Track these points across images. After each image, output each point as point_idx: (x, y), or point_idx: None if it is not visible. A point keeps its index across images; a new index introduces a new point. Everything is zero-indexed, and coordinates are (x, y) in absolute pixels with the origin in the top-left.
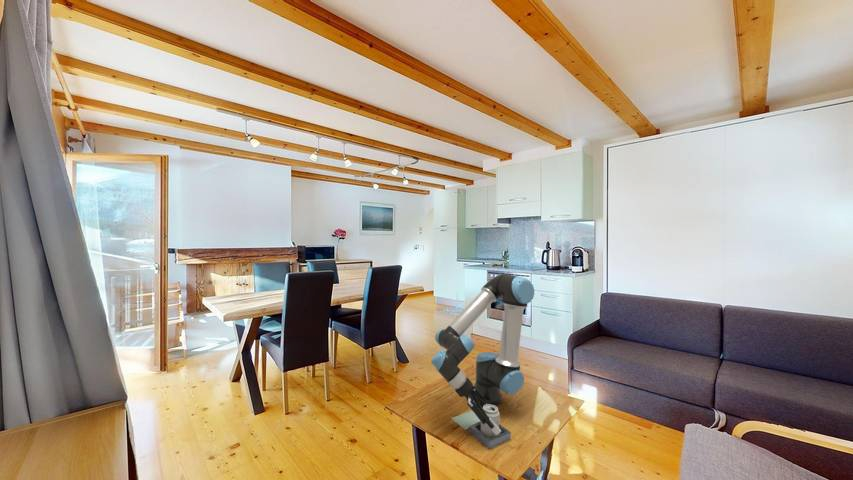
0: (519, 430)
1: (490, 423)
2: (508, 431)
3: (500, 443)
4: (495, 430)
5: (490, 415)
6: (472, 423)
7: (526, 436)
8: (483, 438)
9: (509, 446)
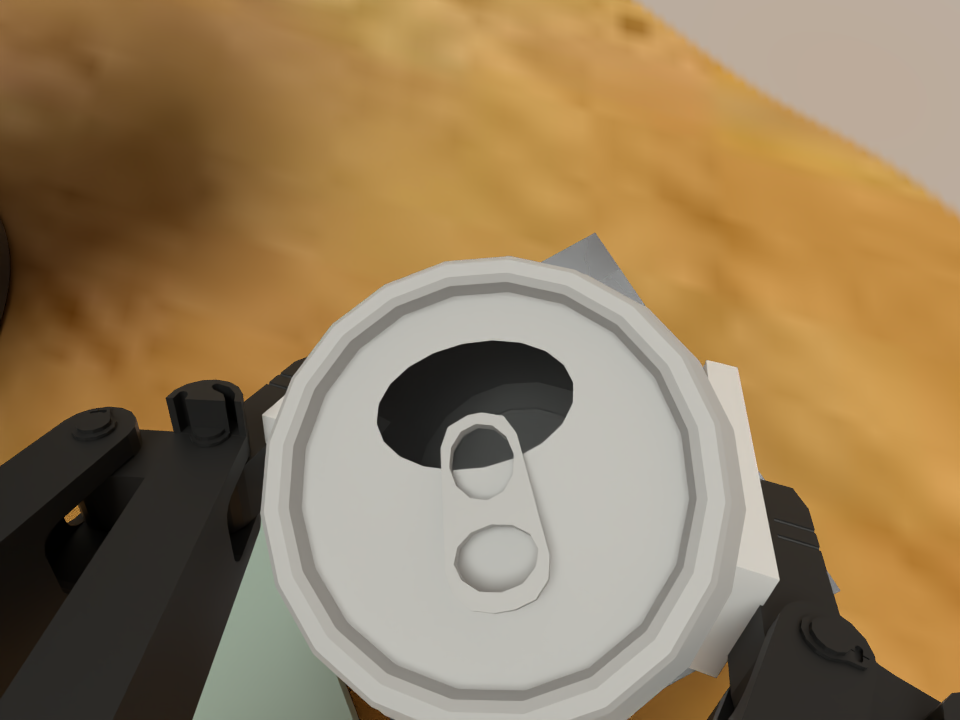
0: (444, 145)
1: (823, 575)
2: (578, 255)
3: None
4: None
5: (725, 545)
6: (273, 649)
7: (541, 109)
8: None
9: (710, 317)
